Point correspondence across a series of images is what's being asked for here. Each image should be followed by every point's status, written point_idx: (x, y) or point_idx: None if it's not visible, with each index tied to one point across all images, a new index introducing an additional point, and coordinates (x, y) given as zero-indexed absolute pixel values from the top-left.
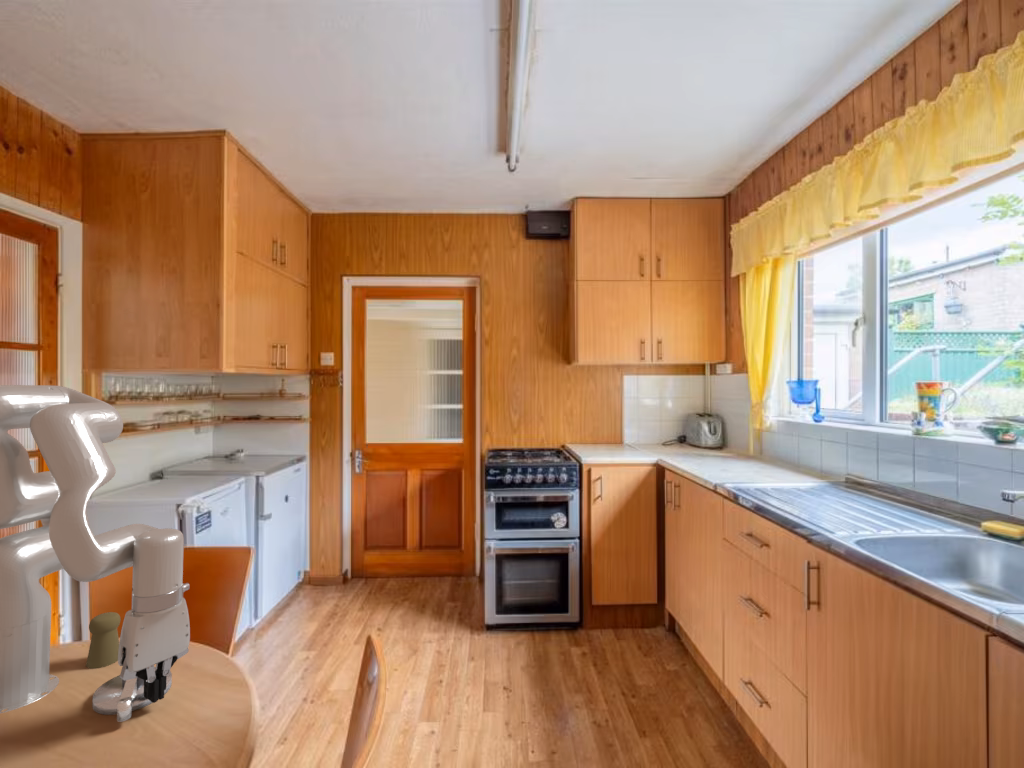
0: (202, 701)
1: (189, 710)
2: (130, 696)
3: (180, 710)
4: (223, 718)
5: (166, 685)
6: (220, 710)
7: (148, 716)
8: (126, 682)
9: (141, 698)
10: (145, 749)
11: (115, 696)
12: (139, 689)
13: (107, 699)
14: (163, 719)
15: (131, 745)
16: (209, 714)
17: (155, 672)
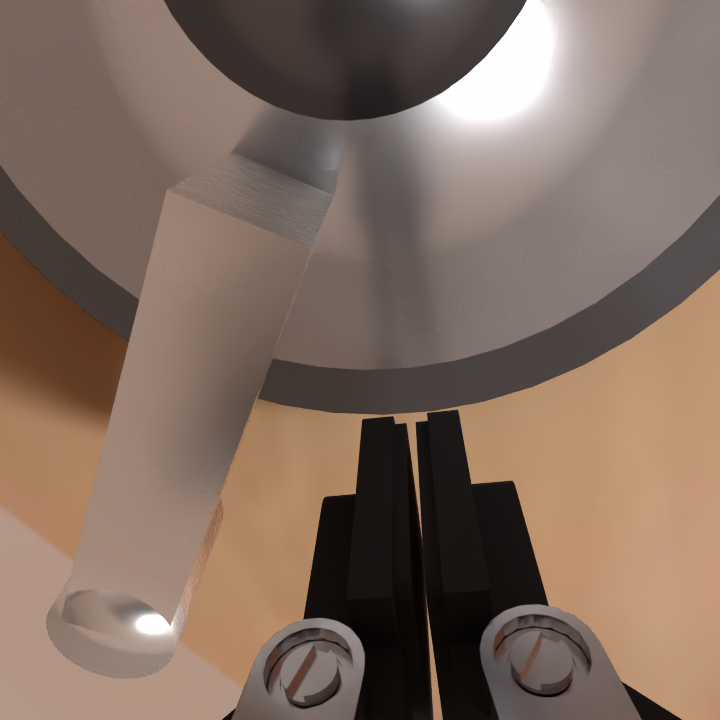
0: (711, 485)
1: (595, 514)
2: (165, 612)
3: (559, 472)
4: (660, 703)
5: (616, 280)
6: (703, 641)
7: None
8: (163, 263)
9: (340, 359)
10: None
11: (131, 74)
12: (379, 140)
13: (48, 71)
14: None
15: (226, 573)
16: (641, 630)
17: (454, 686)
